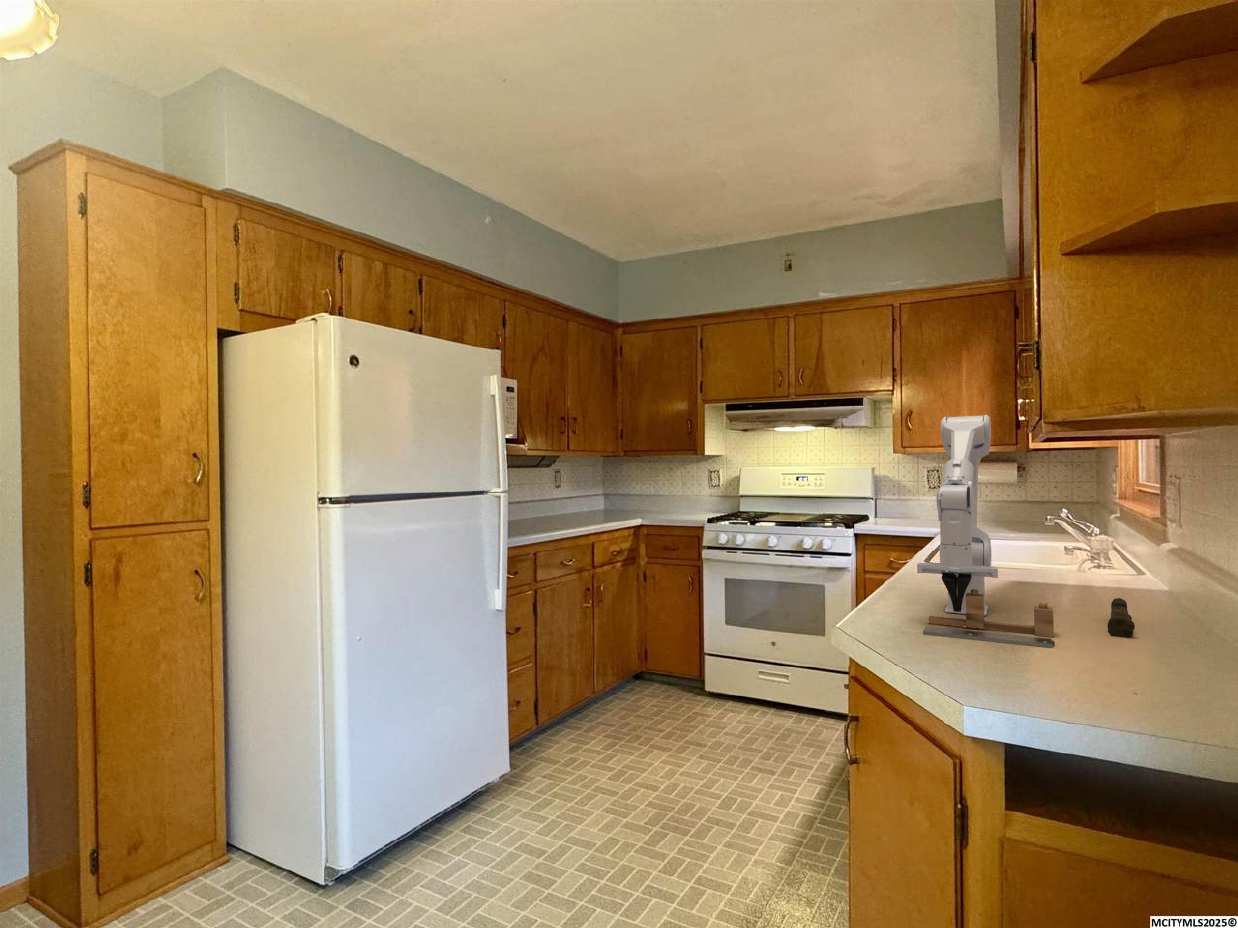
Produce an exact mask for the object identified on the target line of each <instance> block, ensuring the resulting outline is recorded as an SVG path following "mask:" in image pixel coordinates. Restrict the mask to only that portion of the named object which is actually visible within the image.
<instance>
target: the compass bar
mask: <svg viewBox="0 0 1238 928" xmlns="http://www.w3.org/2000/svg"><path fill="white" fill-rule="evenodd" d="M1033 618H1034V619H1033V622H1034V623H1033V624H1034V625H1031V624H1021V623H1011V622H1010V623H1009V622H998V621H988V620H987V621H986V620H984V621H983V622H984V629H983V630H986V629H989V630H990V631H996V630H998V631H997V632H1007V633H1016V634H1017V633H1018V634H1027V635H1034V637H1044V638H1055V632H1054V608H1053V606H1050V605H1048V602H1045V601H1039V602H1038V605H1036V604H1034V605H1033ZM927 619H928V624H929V623H932V624H931V625H935V624H944V625H943V626H945V625H954V626H953V627H955V626H966V618H964V619H963V618H954V617H944V616H934V615H929V616H928V618H927Z"/></svg>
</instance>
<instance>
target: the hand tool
mask: <svg viewBox="0 0 1238 928" xmlns="http://www.w3.org/2000/svg"><path fill="white" fill-rule="evenodd" d="M1110 608H1111V610H1110V618H1109V619H1108V622H1107V633H1108V634H1109V635H1110V636H1111V637H1117V638H1123V639H1124V638H1127V639H1128V638H1131V637H1133V635H1134V630H1135V625H1136V624H1135V622H1134V621H1133V618H1132V615H1130V614H1129V611H1128V603H1127V601H1126V600H1125V599H1123V598H1121V597H1117V598H1114V599H1112V600H1111V603H1110Z"/></svg>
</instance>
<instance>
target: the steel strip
mask: <svg viewBox="0 0 1238 928" xmlns="http://www.w3.org/2000/svg"><path fill="white" fill-rule="evenodd" d="M922 632H923V633H922V634H923V635H927V634H929V635H928V636H936V635H938V636H937V637H945V636H948V637H949V638H955V637H956V638H958V639H964V638H965V639H966V640H973V641H974V640H975V641H976V640H977V641H985V642H993V643H995V642H996V643H1002V644H1011V645H1013V644H1014V645H1020V646H1021V645H1022V646H1031V647H1041V648H1051V649H1053V647H1055V644H1056V643H1055V640H1053V639H1052V638H1051V637H1041V636H1030V635H1019V634H1009V633H1007V634H1006V633H1000V632H999V633H998V632H989V631H977V630H970V629H969V630H968V629H958V628H949V627H940V626H939V627H938V626H930V625H929V626H928V625H925V627H924V628H923V631H922ZM948 637H947V638H948ZM956 638H955V639H956Z"/></svg>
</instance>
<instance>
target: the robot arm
mask: <svg viewBox="0 0 1238 928" xmlns="http://www.w3.org/2000/svg"><path fill="white" fill-rule="evenodd" d="M940 437H941V441H942V445H943V450H944V452H945V455H946V456H948V457H950V459H949V460H947V461H946V463H945V464H944V466H943V471H942V472H943V473H942V481H941V486H940V487H939V486H938V487H937V488H936V495H935V496H936V497H935V499H936V500H935V501H936V508H937V513H938V514H937V515H938V516H937V518H938V521H939V524H940V525H939V527H940V528H939V535H940V536H939V537H940V538H939V539H940V544H939V562H938V563H937V562H935V563H934V562H918V563H917V564H916V572H917V573H916V574H931V575H932V574H936V575H941V580H942V582H943V584H944V586H945V588H946V590H947V605H946V607H945V609H944V612H945V613H952V614H960V615H961V614H962V615H966V594H967V593H971V589H976V590H979V593H980V594H984V617H985V616H987V614H988V610H989V605H987V604H986V600H985V597H986V596H985V595H986V594H985V578H991V579H998V578H999V567H998V566H992V545H991V544H992V543H991V542H992V540H991V537H990V536H989V533H987V532H985V531H984V530H983V529H980V528H979V527H978V493H979V492H978V489H979V488H978V486H979V483H978V481H979V467H980V463H981V459H982V458H984V457H985V456H987V455H989V454H990V450H991V440H992V439H991V438H992V421H991V417H990V416H989V415H988V414H983V415H967V416H966V415H965V416H963V415H962V416H944V417H943V418H942V419H941V422H940Z"/></svg>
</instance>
